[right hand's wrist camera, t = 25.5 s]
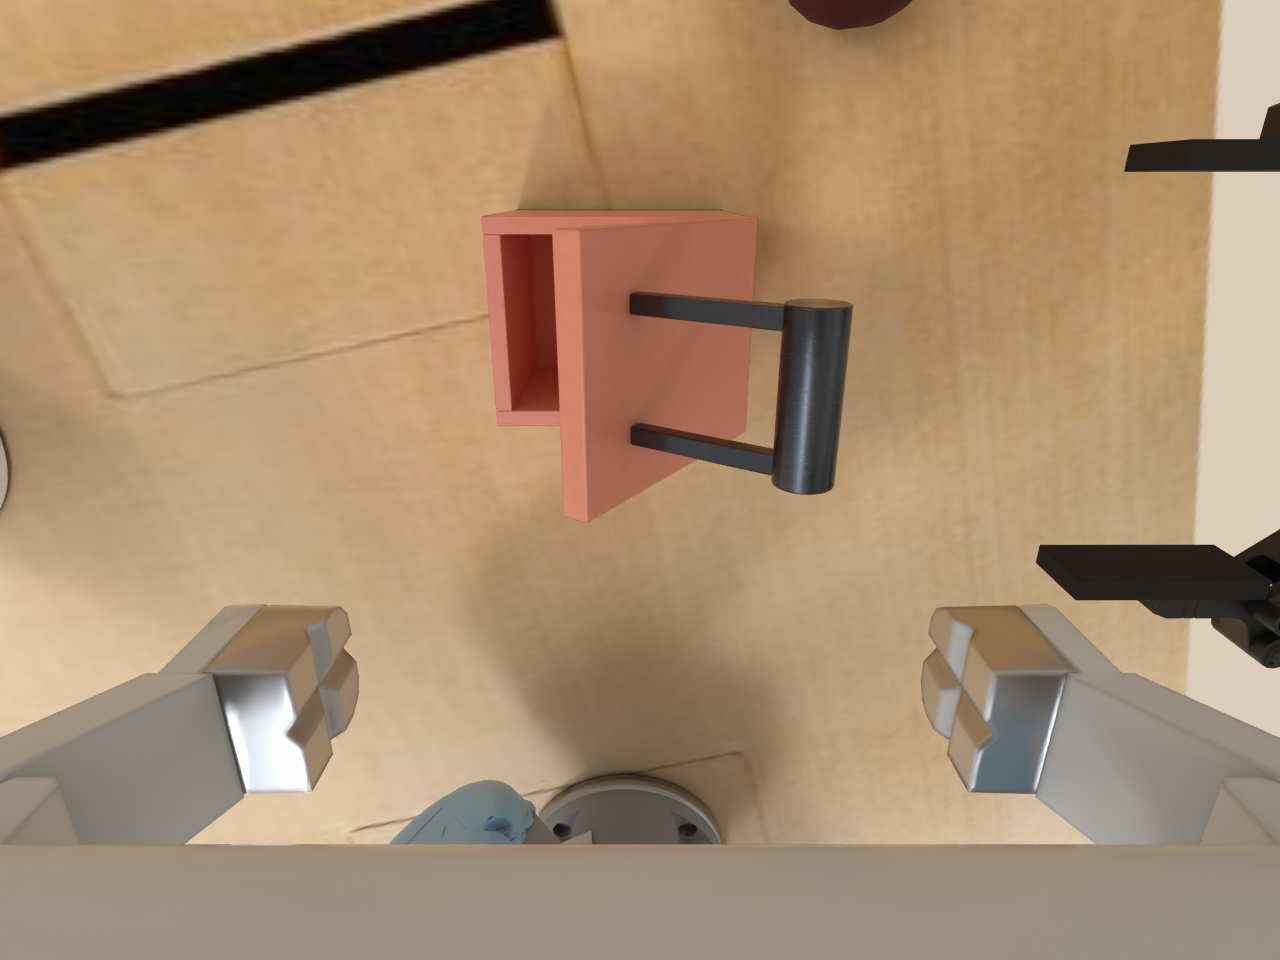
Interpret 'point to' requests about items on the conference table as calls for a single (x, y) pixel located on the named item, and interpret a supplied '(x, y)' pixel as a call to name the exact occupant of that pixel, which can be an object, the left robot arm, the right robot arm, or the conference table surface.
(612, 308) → the lid
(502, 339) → the chest
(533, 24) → the conference table surface
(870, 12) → the dark brown oval ball
